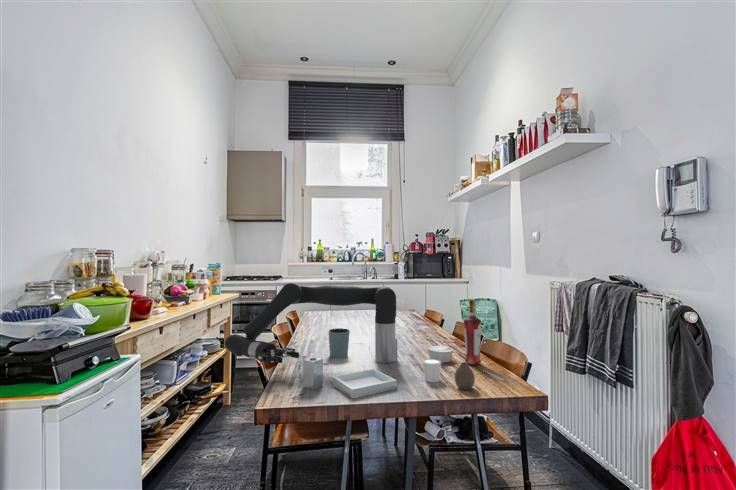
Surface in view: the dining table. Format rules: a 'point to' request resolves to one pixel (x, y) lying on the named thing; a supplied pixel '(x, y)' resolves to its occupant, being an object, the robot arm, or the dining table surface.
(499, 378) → the butter knife
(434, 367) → the white cylinder
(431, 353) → the ramekin
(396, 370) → the dining table surface
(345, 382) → the tray
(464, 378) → the grey egg-shaped piece
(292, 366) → the dining table surface
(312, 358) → the steel block
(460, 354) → the dining table surface
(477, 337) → the liquor
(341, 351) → the green cup
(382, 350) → the robot arm
